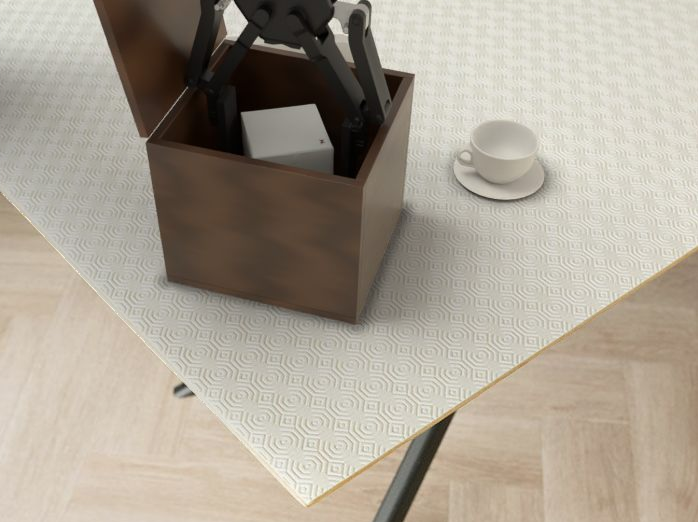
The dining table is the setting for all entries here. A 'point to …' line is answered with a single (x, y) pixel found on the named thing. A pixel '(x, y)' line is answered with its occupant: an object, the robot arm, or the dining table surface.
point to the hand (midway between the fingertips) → (288, 166)
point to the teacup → (500, 160)
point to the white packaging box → (288, 137)
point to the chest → (278, 194)
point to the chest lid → (151, 52)
